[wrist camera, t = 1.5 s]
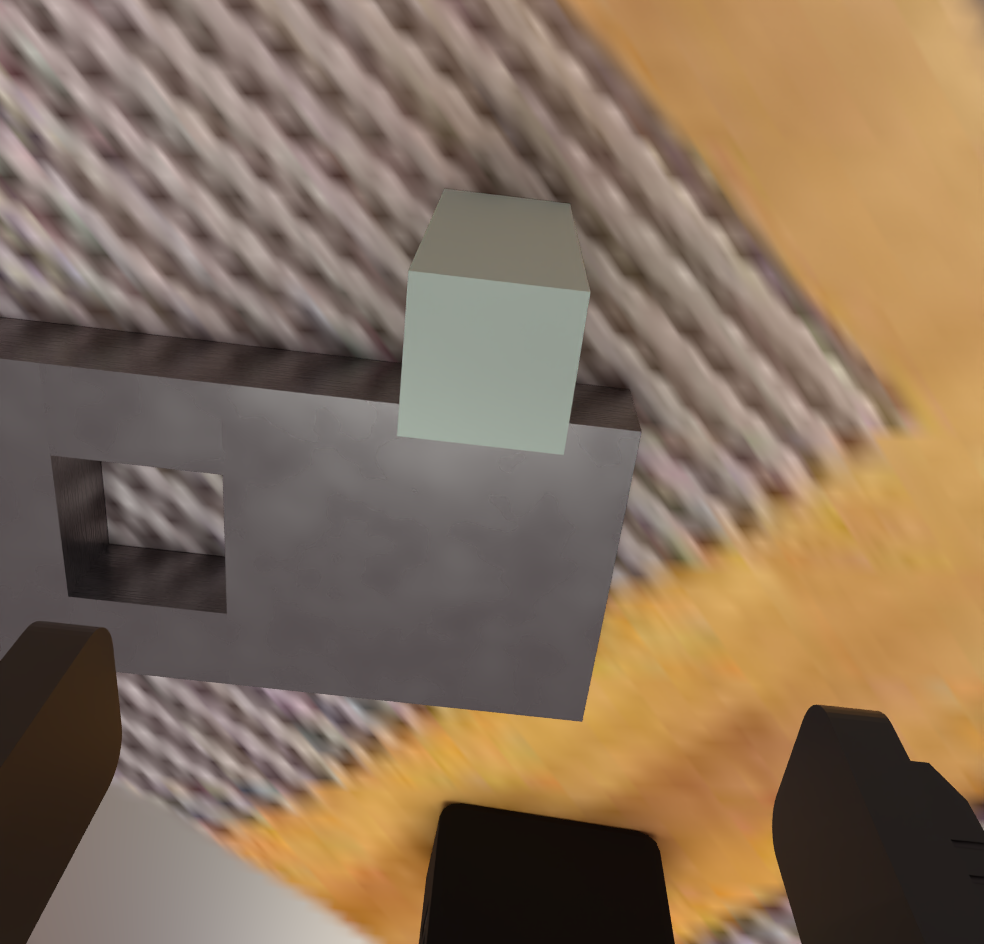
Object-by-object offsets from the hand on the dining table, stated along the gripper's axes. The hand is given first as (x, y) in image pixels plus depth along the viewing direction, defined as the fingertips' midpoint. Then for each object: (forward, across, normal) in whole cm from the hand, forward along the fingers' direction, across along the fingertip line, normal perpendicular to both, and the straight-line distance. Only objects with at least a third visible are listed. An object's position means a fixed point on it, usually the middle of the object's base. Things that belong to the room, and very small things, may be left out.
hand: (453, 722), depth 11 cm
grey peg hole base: (+21, +6, +10) cm, 24 cm away
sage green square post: (+22, 0, 0) cm, 22 cm away
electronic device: (+22, -5, +27) cm, 35 cm away
